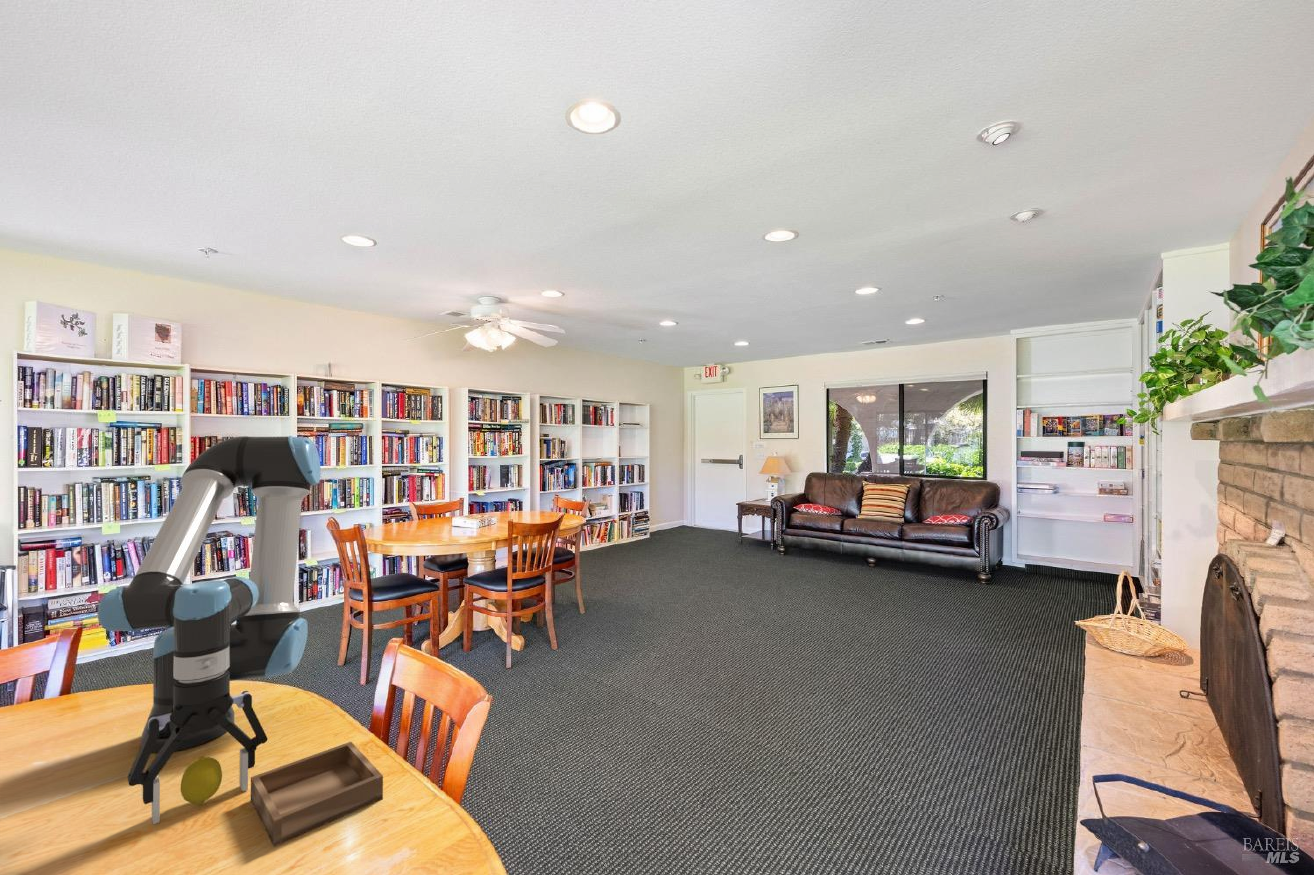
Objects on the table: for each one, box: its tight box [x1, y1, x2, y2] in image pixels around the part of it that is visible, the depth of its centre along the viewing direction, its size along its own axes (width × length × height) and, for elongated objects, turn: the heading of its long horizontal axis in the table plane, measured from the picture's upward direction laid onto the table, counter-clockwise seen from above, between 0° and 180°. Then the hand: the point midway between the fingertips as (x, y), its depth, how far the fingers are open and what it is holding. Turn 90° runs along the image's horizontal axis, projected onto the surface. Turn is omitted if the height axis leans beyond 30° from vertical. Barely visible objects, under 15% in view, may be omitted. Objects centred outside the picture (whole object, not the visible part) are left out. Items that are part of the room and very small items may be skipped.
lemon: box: [180, 755, 223, 805], centre depth 96 cm, size 6×6×8 cm
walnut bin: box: [250, 741, 384, 848], centre depth 97 cm, size 16×16×4 cm
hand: (201, 802), depth 96 cm, fingers open, 11 cm apart
